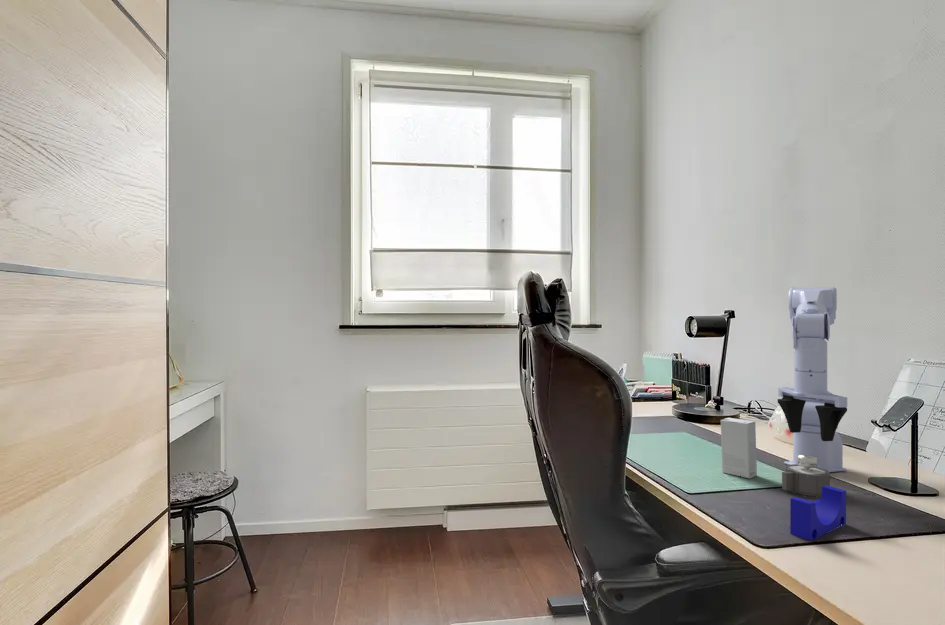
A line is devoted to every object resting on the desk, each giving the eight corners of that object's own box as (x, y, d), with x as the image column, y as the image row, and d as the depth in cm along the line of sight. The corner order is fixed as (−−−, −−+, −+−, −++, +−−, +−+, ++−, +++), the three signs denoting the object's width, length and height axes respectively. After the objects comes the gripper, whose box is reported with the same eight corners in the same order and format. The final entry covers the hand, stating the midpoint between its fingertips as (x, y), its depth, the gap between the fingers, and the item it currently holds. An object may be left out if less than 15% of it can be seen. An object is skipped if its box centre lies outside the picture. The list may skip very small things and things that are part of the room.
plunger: (806, 481, 104) (806, 453, 104) (820, 486, 101) (820, 457, 101) (793, 482, 103) (793, 454, 103) (807, 487, 100) (807, 458, 100)
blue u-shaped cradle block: (817, 516, 90) (817, 482, 90) (846, 525, 86) (846, 490, 86) (780, 531, 83) (780, 495, 83) (810, 542, 79) (810, 504, 79)
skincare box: (757, 475, 111) (757, 421, 111) (749, 479, 109) (749, 423, 109) (729, 468, 116) (729, 416, 116) (720, 472, 113) (720, 419, 113)
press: (806, 483, 106) (806, 463, 106) (838, 495, 99) (838, 474, 99) (769, 486, 104) (769, 466, 104) (799, 499, 97) (799, 477, 97)
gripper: (766, 367, 111) (766, 429, 111) (826, 375, 97) (826, 446, 96) (793, 367, 112) (793, 428, 112) (856, 374, 98) (856, 444, 98)
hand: (810, 436), depth 104 cm, fingers open, 7 cm apart
